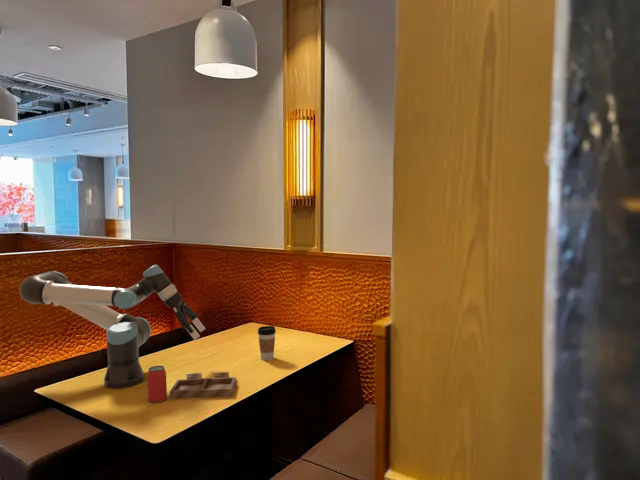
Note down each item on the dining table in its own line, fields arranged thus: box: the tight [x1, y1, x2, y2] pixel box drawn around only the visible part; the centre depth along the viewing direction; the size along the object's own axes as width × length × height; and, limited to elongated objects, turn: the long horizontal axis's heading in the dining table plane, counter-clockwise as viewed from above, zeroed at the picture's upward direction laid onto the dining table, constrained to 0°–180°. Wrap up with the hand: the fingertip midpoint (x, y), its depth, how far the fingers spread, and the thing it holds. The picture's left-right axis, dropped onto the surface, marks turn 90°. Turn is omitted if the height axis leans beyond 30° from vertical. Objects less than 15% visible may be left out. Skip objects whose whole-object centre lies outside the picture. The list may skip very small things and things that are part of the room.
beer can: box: [146, 365, 168, 404], centre depth 166 cm, size 7×7×12 cm
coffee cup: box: [257, 325, 277, 361], centre depth 211 cm, size 8×8×15 cm
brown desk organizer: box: [169, 371, 238, 400], centre depth 175 cm, size 23×16×4 cm
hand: (200, 334), depth 199 cm, fingers open, 13 cm apart
